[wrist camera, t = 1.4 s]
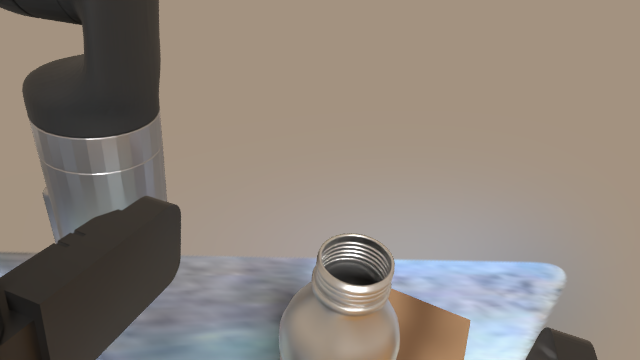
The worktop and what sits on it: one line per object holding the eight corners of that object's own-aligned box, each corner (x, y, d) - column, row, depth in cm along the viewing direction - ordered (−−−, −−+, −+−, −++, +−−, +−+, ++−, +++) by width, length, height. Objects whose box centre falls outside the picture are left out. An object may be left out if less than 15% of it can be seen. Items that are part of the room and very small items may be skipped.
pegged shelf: (316, 393, 36) (322, 362, 34) (356, 307, 44) (363, 277, 41) (436, 452, 33) (453, 423, 31) (456, 349, 41) (470, 320, 39)
